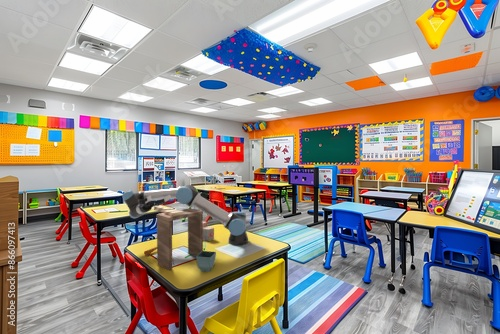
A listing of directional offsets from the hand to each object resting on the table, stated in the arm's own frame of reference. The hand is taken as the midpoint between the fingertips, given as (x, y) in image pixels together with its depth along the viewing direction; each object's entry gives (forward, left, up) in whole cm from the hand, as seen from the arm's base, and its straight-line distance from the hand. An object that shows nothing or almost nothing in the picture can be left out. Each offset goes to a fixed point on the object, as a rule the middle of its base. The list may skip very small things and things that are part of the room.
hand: (160, 197), depth 150 cm
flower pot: (-30, +19, -39) cm, 53 cm away
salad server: (-4, +4, -9) cm, 11 cm away
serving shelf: (-13, +5, -39) cm, 42 cm away
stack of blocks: (-22, -40, -40) cm, 60 cm away
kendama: (+7, -14, -40) cm, 43 cm away
